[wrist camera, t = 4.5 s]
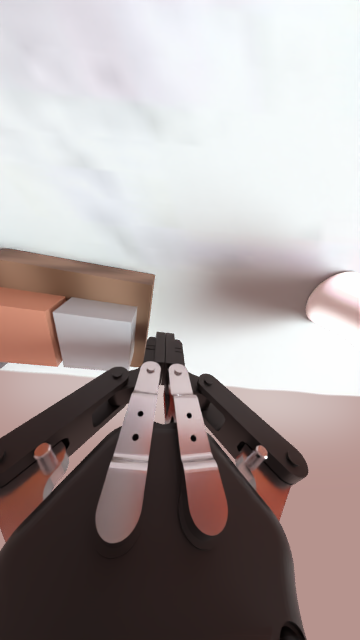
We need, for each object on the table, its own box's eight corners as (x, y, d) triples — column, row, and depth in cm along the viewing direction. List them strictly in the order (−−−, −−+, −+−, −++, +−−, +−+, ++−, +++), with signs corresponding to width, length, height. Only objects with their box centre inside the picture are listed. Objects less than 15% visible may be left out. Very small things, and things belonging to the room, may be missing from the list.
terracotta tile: (65, 296, 13) (44, 311, 11) (73, 346, 15) (57, 366, 13) (-10, 285, 12) (-49, 299, 10) (11, 339, 14) (-16, 360, 12)
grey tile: (137, 306, 14) (131, 322, 11) (133, 352, 16) (128, 372, 14) (71, 297, 13) (52, 312, 11) (78, 346, 15) (63, 366, 13)
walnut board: (155, 274, 15) (152, 285, 13) (145, 348, 20) (142, 367, 17) (8, 248, 13) (-30, 254, 11) (34, 336, 18) (11, 355, 15)
